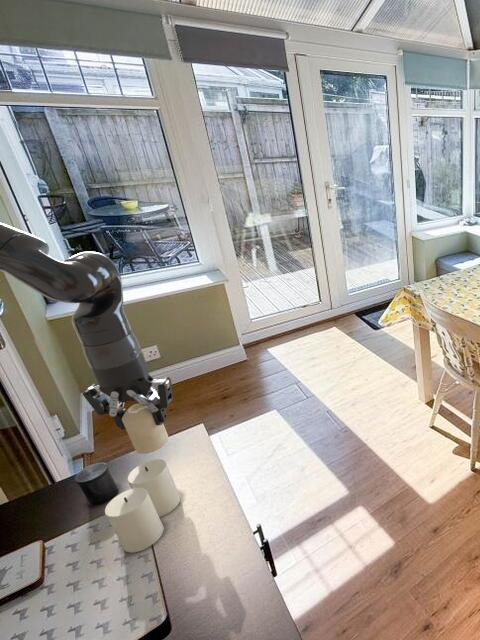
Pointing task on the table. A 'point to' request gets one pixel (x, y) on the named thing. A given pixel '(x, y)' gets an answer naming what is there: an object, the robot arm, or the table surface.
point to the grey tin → (97, 483)
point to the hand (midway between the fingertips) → (144, 424)
